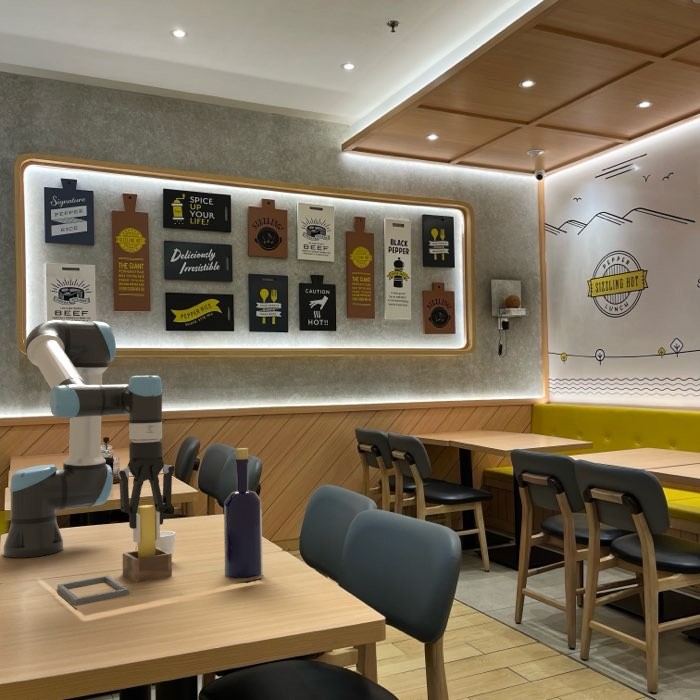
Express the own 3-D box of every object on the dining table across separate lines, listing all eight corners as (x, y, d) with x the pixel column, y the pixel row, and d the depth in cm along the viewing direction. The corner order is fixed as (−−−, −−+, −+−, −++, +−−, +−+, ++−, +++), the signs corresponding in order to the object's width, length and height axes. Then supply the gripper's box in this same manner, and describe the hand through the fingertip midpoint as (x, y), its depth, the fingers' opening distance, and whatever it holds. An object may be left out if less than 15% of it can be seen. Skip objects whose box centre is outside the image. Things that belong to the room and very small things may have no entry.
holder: (122, 578, 165) (122, 553, 165) (157, 572, 170) (157, 547, 170) (135, 586, 158) (135, 559, 158) (171, 579, 163) (171, 553, 163)
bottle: (271, 574, 165) (269, 447, 167) (249, 584, 157) (247, 451, 159) (238, 570, 169) (236, 446, 171) (216, 580, 161) (214, 450, 162)
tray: (57, 593, 154) (57, 584, 154) (107, 584, 160) (107, 575, 160) (75, 609, 142) (75, 599, 142) (128, 598, 149) (128, 589, 149)
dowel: (135, 570, 164) (135, 506, 165) (151, 567, 167) (151, 504, 167) (141, 574, 161) (141, 508, 162) (158, 571, 163) (157, 506, 164)
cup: (177, 567, 173) (176, 535, 174) (135, 572, 170) (134, 538, 171) (175, 561, 180) (175, 529, 180) (134, 565, 177) (134, 533, 177)
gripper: (115, 444, 157) (115, 549, 156) (186, 439, 167) (187, 537, 166) (104, 442, 163) (105, 543, 162) (173, 437, 173) (174, 532, 172)
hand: (146, 540), depth 164 cm, fingers closed on dowel, 4 cm apart
